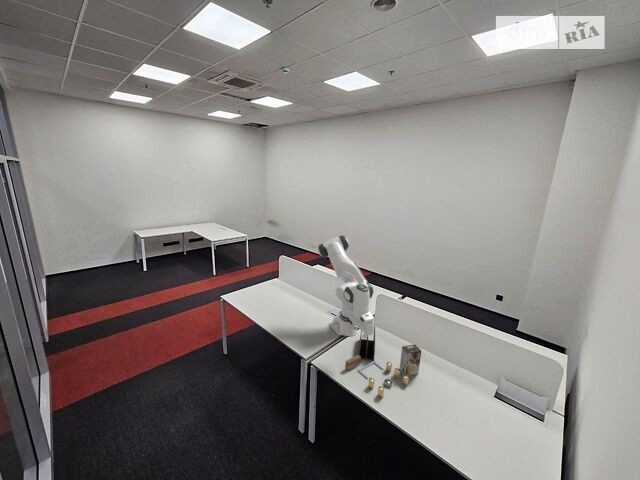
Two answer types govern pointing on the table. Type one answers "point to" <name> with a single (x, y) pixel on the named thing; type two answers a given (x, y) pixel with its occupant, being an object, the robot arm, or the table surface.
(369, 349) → the letter holder
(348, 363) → the brown flat block
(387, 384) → the silver dome knob
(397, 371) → the spacers
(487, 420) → the table surface
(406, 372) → the coffee box
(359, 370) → the bay
